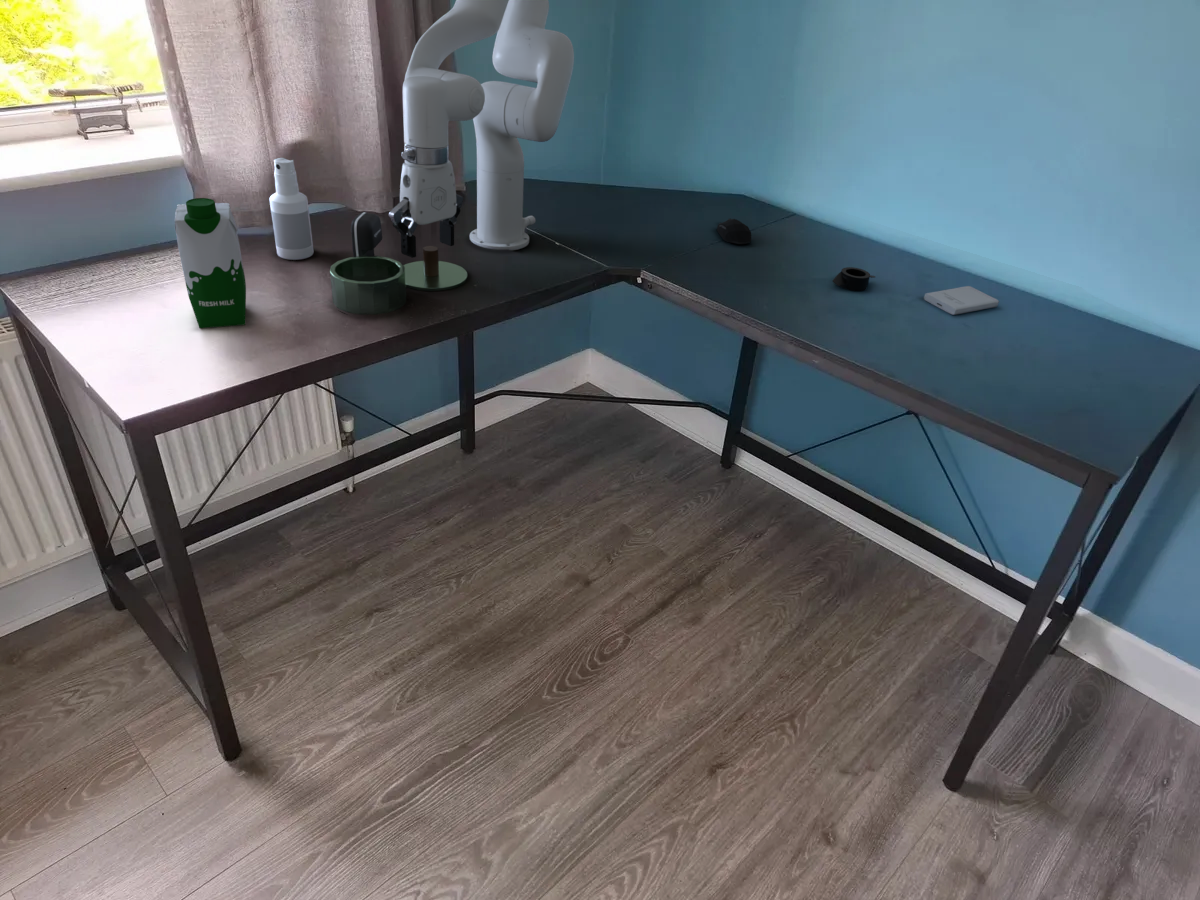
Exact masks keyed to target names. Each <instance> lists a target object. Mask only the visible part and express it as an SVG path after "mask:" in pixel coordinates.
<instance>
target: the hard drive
mask: <svg viewBox="0 0 1200 900" xmlns="http://www.w3.org/2000/svg"><path fill="white" fill-rule="evenodd" d="M923 300H924V301H925V302H927V303H929V304H931V305H932V306H934V307H937V308H938V309H941V310H942V311H944V312H946V313H948V314H950V315H952V316H955V315H961V314H967V313H971V312H976V311H982V310H988V309H993V308H997V307H998V305H999V303H1000V301H999V300H998V299H997V298H995V297H993V296H991V295H989V294H986V293H985V292H983V291H980V290H979V289H976V288H974V287H973V286H971V285H966V286H960V287H954V288H949V289H948V288H947V289H943V290H936V291H932V292H927V293H926V292H925V293H924V296H923Z"/></svg>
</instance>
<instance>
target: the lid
mask: <svg viewBox="0 0 1200 900" xmlns="http://www.w3.org/2000/svg"><path fill="white" fill-rule="evenodd" d="M402 265H403V266H404V267H405V282H406V288H409V289H412V290H416V291H424V292H440V291H442V292H443V291H448V290H452V289H455V288H459V287H460V286H462V285H464V284H465V283H466V282H467V281H468V272H467V270H466V269H465V268H463V267H462V266H460V265H458V264H455V263H452V262H448V261H442V260H440V259H439V248H438V247H437V246H435V245H426V246H424V247H422V260H417V261H413V262H409V263H405V264H402Z"/></svg>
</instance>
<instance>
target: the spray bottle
mask: <svg viewBox="0 0 1200 900" xmlns="http://www.w3.org/2000/svg"><path fill="white" fill-rule="evenodd" d="M294 161H295V160H294V159H290V160H289V159H287V158H285V157H277V158H274V159H273V165H274V172H273V174H274V175H273V176H274V186H275V192H274V193H272V194H271V195H270V197H269V199H268V200H269V205H270V213H271V214H270V215H271V220H272V221H271V222H272V227H273V228H272V229H273V235H274V241H275V248H276V254H277V256H278V257H279V258H281V259H284V260H291V261H292V260H293V261H296V260H297V261H298V260H304V259H308V258H311V257H312V256H313V255H314V251H315V250H314V241H313V233H312V225H311V224H312V223H311V216H310V207H309V200H308V199H309V198H308V196H307V195H306V194H304V193H303V192H301V191H300V188H299V182H298V175H297V171H296V168H295V162H294Z"/></svg>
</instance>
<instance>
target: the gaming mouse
mask: <svg viewBox="0 0 1200 900" xmlns="http://www.w3.org/2000/svg"><path fill="white" fill-rule="evenodd" d="M716 232H717V233H718V234H719V236H720V237H721V239H722V240H723V241H725V242H727V243H729V244H735V245H746V244H749V243H751V242H752V232H751V230H750V228H749V226H748V225H747V224H745V223H743V222H742V221H740V220H738V219H736V218H728V219H727V220H725V221H722V222H719V223H718V225H717V227H716Z"/></svg>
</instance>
